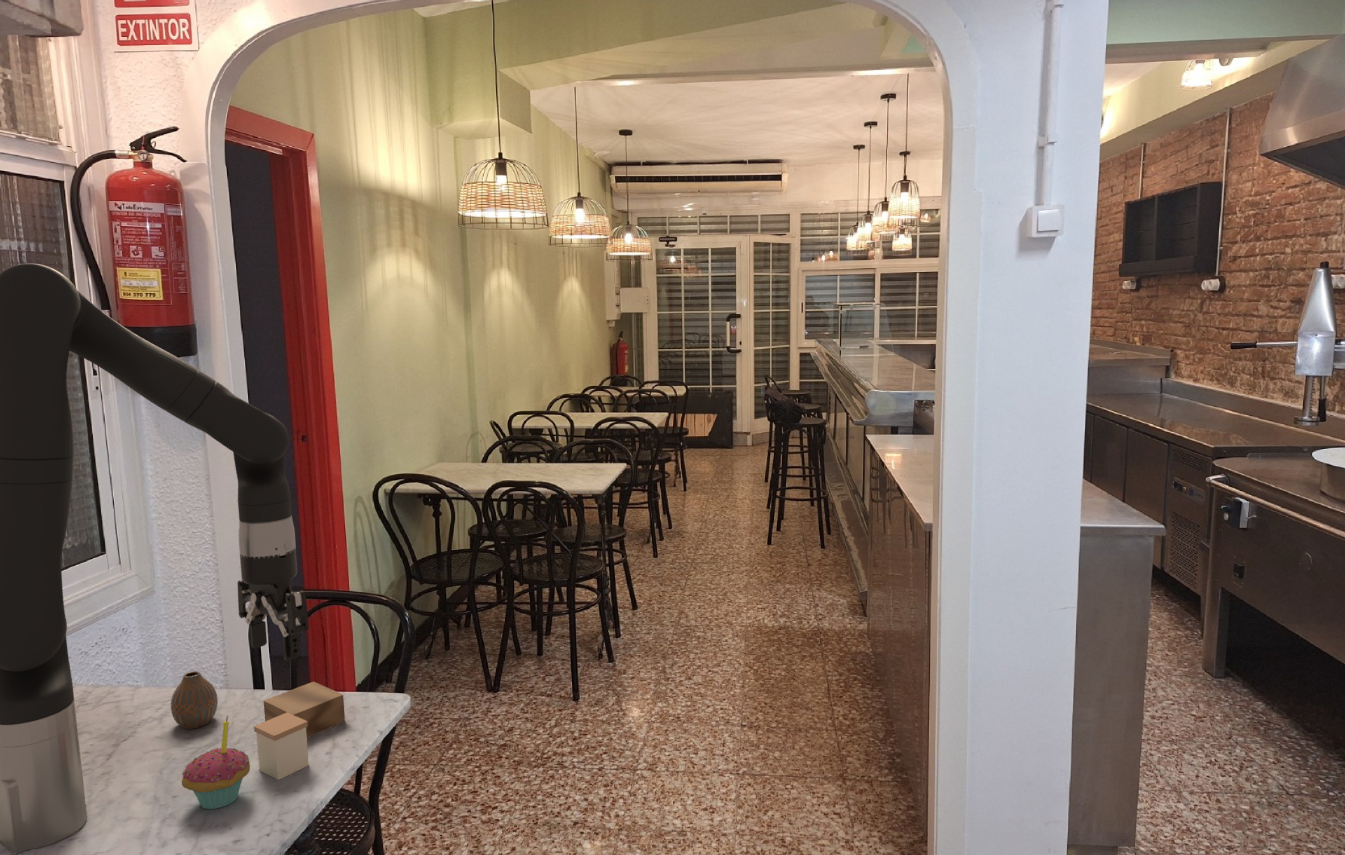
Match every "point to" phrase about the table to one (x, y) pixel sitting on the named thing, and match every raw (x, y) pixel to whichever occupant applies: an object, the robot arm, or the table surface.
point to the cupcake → (217, 774)
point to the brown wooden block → (309, 706)
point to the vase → (194, 701)
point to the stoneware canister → (282, 745)
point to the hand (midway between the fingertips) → (275, 652)
